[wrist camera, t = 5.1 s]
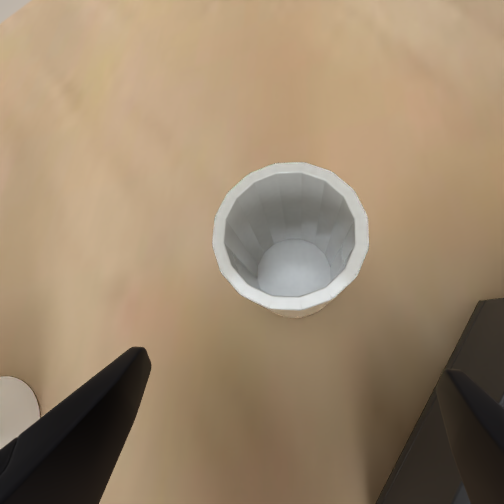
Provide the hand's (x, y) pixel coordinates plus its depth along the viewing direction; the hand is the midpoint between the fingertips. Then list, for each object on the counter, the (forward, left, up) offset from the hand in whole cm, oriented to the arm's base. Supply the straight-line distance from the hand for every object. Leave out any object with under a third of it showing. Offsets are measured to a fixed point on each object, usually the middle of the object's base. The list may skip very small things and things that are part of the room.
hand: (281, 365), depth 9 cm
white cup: (+2, +4, -11) cm, 12 cm away
